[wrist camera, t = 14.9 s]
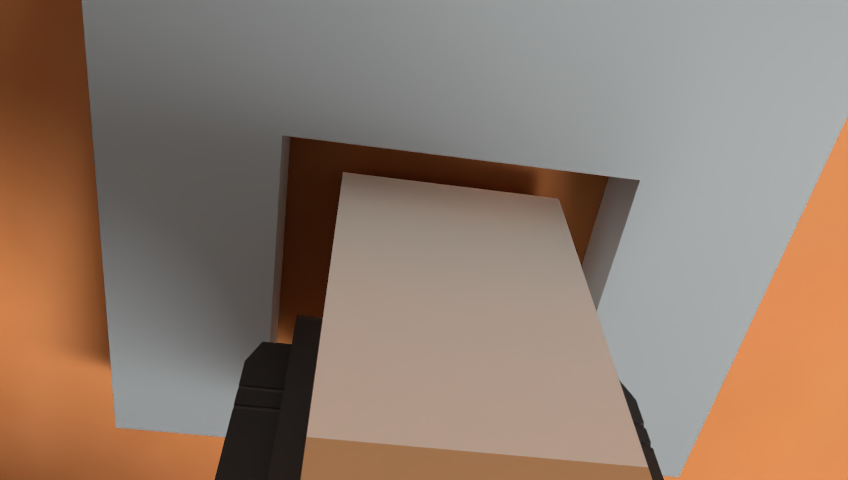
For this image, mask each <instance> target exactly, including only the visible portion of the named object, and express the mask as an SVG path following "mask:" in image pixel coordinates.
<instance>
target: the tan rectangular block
mask: <svg viewBox="0 0 848 480" xmlns="http://www.w3.org/2000/svg"><path fill="white" fill-rule="evenodd" d="M301 480H652V477H651V474H650V471H649V468H648V465H647V462H646V459H645V456H644V453H643V450H642V447H641V444H640V441H639V438H638V435H637V432H636V429H635V426H634V423H633V420H632V417H631V414H630V411H629V408H628V405H627V402H626V399H625V396H624V393H623V390H622V387H621V384H620V381H619V378H618V375H617V372H616V369H615V366H614V363H613V360H612V357H611V354H610V351H609V348H608V345H607V342H606V339H605V336H604V333H603V330H602V327H601V324H600V321H599V318H598V315H597V312H596V309H595V306H594V303H593V300H592V297H591V294H590V291H589V288H588V285H587V282H586V279H585V276H584V273H583V270H582V267H581V264H580V261H579V258H578V255H577V252H576V249H575V246H574V243H573V240H572V237H571V234H570V231H569V228H568V225H567V222H566V219H565V216H564V213H563V210H562V207H561V204H560V201H559V198H551V197H543V196H535V195H526V194H518V193H510V192H502V191H494V190H485V189H477V188H469V187H461V186H453V185H444V184H436V183H428V182H420V181H412V180H403V179H395V178H387V177H379V176H371V175H362V174H354V173H346V172H343V176H342V183H341V191H340V198H339V205H338V212H337V220H336V227H335V234H334V241H333V249H332V256H331V263H330V270H329V277H328V285H327V292H326V299H325V306H324V314H323V321H322V328H321V335H320V343H319V350H318V357H317V364H316V371H315V379H314V386H313V393H312V400H311V408H310V415H309V422H308V429H307V437H306V444H305V451H304V458H303V465H302V473H301Z"/></svg>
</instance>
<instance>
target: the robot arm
mask: <svg viewBox="0 0 848 480" xmlns="http://www.w3.org/2000/svg"><path fill="white" fill-rule="evenodd" d="M322 321H323V317H315V316H305V315H297V319H296V324H295V330H294V335H293V341H292V344H283V343H273V342H262V343H261V344H260V345H259V346H258V347H257V348H256V349H255V350H254V351H253V352H252V354H251V355H250V356H249V357H248V358H247V359H246V360H245V362H244V366H243V370H242V374H241V378H240V382H239V388H238V390H237V394H236V398H235V402H234V408H233V410H232V414H231V418H230V421H229V425H228V429H227V433H226V437H225V441H224V445H223V449H222V453H221V457H220V461H219V465H218V469H217V473H216V477H215V480H301V473H302V465H303V458H304V451H305V444H306V437H307V429H308V422H309V415H310V408H311V400H312V393H313V386H314V379H315V371H316V364H317V357H318V350H319V343H320V335H321V328H322ZM619 381H620V380H619ZM620 384H621V387H622V390H623V393H624V396H625V399H626V402H627V405H628V408H629V411H630V414H631V417H632V420H633V423H634V426H635V429H636V432H637V435H638V438H639V441H640V444H641V447H642V450H643V453H644V456H645V459H646V462H647V465H648V468H649V471H650V474H651V477H652V480H664V479H663V476H662V473H661V470H660V467H659V464H658V461H657V458H656V456H655V453H654V450H653V448H651V441H650V438H649V436H648V433H647V430H646V428H644V421H643V418H642V415H641V413H640V410H639V407H638V404H637V401H636V399H635V398H634V397H633V396H632V394H631V393H630V392H629V391H628V390H627V388H626V387H625V386H624V385H623V384H622V383H621V381H620Z"/></svg>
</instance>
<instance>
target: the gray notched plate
mask: <svg viewBox="0 0 848 480" xmlns="http://www.w3.org/2000/svg"><path fill="white" fill-rule="evenodd" d="M82 12H83V24H84V37H85V49H86V62H87V74H88V87H89V99H90V112H91V124H92V137H93V149H94V162H95V174H96V187H97V199H98V212H99V224H100V237H101V249H102V262H103V274H104V287H105V299H106V312H107V324H108V337H109V350H110V362H111V375H112V387H113V400H114V412H115V425H116V428H126V429H138V430H149V431H160V432H172V433H183V434H195V435H206V436H217V437H226V433H227V429H228V425H229V421H230V418H231V414H232V410H233V408H234V402H235V398H236V394H237V390H238V388H239V382H240V378H241V374H242V370H243V366H244V362H245V360H246V359H247V358H248V357H249V356H250V355H251V354H252V352H253V351H254V350H255V349H256V348H257V347H258V346H259V345H260V344H261V343H262V342H273V343H277V336H278V321H279V305H280V290H281V275H282V260H283V244H284V229H285V214H286V198H287V183H288V168H289V153H290V137H299V138H307V139H315V140H323V141H331V142H339V143H347V144H355V145H363V146H371V147H379V148H387V149H395V150H403V151H411V152H419V153H427V154H435V155H443V156H451V157H459V158H466V159H474V160H482V161H490V162H498V163H506V164H514V165H522V166H530V167H538V168H546V169H554V170H562V171H570V172H578V173H586V174H594V175H602V176H609V178H608V182H607V185H606V188H605V191H604V195H603V198H602V201H601V204H600V208H599V211H598V214H597V217H596V221H595V224H594V227H593V230H592V233H591V237H590V240H589V243H588V246H587V250H586V253H585V256H584V259H583V263H582V266H581V267H582V270H583V273H584V276H585V279H586V282H587V285H588V288H589V291H590V294H591V297H592V300H593V303H594V306H595V309H596V312H597V315H598V318H599V321H600V324H601V327H602V330H603V333H604V336H605V339H606V342H607V345H608V348H609V351H610V354H611V357H612V360H613V363H614V366H615V369H616V372H617V375H618V378H619V380H620V381H621V383H622V384H623V385H624V386H625V387H626V388H627V390H628V391H629V392H630V393H631V394H632V396H633V397H634V398H635V399H636V401H637V404H638V407H639V410H640V413H641V415H642V418H643V421H644V428H646V430H647V433H648V436H649V438H650V441H651V448H653V450H654V453H655V456H656V458H657V461H658V464H659V467H660V470H661V473H662V476H672V477H679V476H680V474H681V471H682V469H683V467H684V465H685V463H686V461H687V459H688V456H689V454H690V452H691V450H692V448H693V446H694V444H695V442H696V439H697V437H698V435H699V433H700V431H701V429H702V427H703V424H704V422H705V420H706V418H707V416H708V414H709V412H710V409H711V407H712V405H713V403H714V401H715V399H716V397H717V394H718V392H719V390H720V388H721V386H722V384H723V382H724V379H725V377H726V375H727V373H728V371H729V369H730V367H731V364H732V362H733V360H734V358H735V356H736V354H737V352H738V350H739V347H740V345H741V343H742V341H743V339H744V337H745V335H746V332H747V330H748V328H749V326H750V324H751V322H752V320H753V317H754V315H755V313H756V311H757V309H758V307H759V305H760V302H761V300H762V298H763V296H764V294H765V292H766V290H767V287H768V285H769V283H770V281H771V279H772V277H773V275H774V272H775V270H776V268H777V266H778V264H779V262H780V260H781V257H782V255H783V253H784V251H785V249H786V247H787V245H788V243H789V240H790V238H791V236H792V234H793V232H794V230H795V228H796V225H797V223H798V221H799V219H800V217H801V215H802V213H803V210H804V208H805V206H806V204H807V202H808V200H809V198H810V195H811V193H812V191H813V189H814V187H815V185H816V183H817V180H818V178H819V176H820V174H821V172H822V170H823V168H824V165H825V163H826V161H827V159H828V157H829V155H830V153H831V151H832V148H833V146H834V144H835V142H836V140H837V138H838V136H839V133H840V131H841V129H842V127H843V125H844V123H845V121H846V118H847V116H848V0H82Z"/></svg>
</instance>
